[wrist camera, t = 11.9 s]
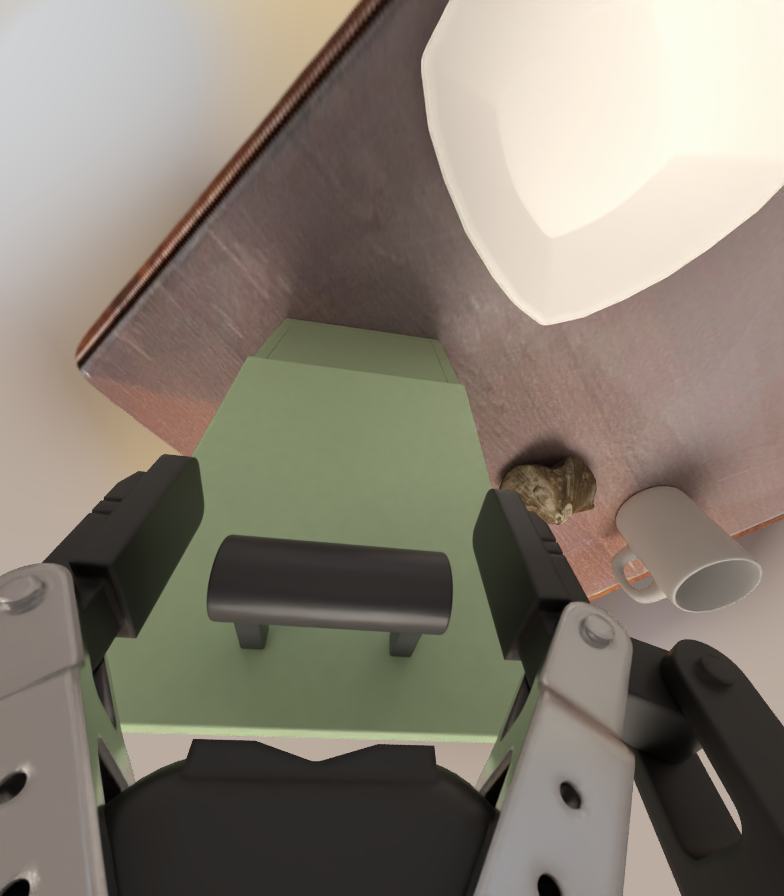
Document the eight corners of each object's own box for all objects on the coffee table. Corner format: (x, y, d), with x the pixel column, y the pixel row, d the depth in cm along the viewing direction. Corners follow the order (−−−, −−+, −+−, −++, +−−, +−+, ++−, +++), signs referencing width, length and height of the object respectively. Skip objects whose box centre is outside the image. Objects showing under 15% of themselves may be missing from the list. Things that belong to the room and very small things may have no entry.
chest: (406, 491, 44) (413, 566, 35) (284, 479, 42) (259, 554, 33) (439, 339, 35) (461, 386, 25) (285, 317, 33) (250, 359, 24)
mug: (667, 472, 44) (745, 544, 34) (698, 510, 47) (777, 584, 38) (577, 530, 48) (624, 606, 39) (611, 560, 51) (662, 638, 42)
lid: (549, 745, 11) (661, 688, 8) (52, 731, 10) (-89, 652, 6) (461, 394, 25) (487, 316, 22) (248, 366, 24) (239, 278, 20)
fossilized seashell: (492, 521, 43) (568, 517, 46) (526, 535, 37) (612, 529, 39) (493, 455, 43) (569, 454, 46) (526, 457, 37) (613, 457, 39)
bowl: (770, 179, 29) (841, 173, 24) (511, 341, 35) (530, 360, 30) (721, -255, 19) (826, -397, 15) (373, 73, 25) (372, 44, 21)
